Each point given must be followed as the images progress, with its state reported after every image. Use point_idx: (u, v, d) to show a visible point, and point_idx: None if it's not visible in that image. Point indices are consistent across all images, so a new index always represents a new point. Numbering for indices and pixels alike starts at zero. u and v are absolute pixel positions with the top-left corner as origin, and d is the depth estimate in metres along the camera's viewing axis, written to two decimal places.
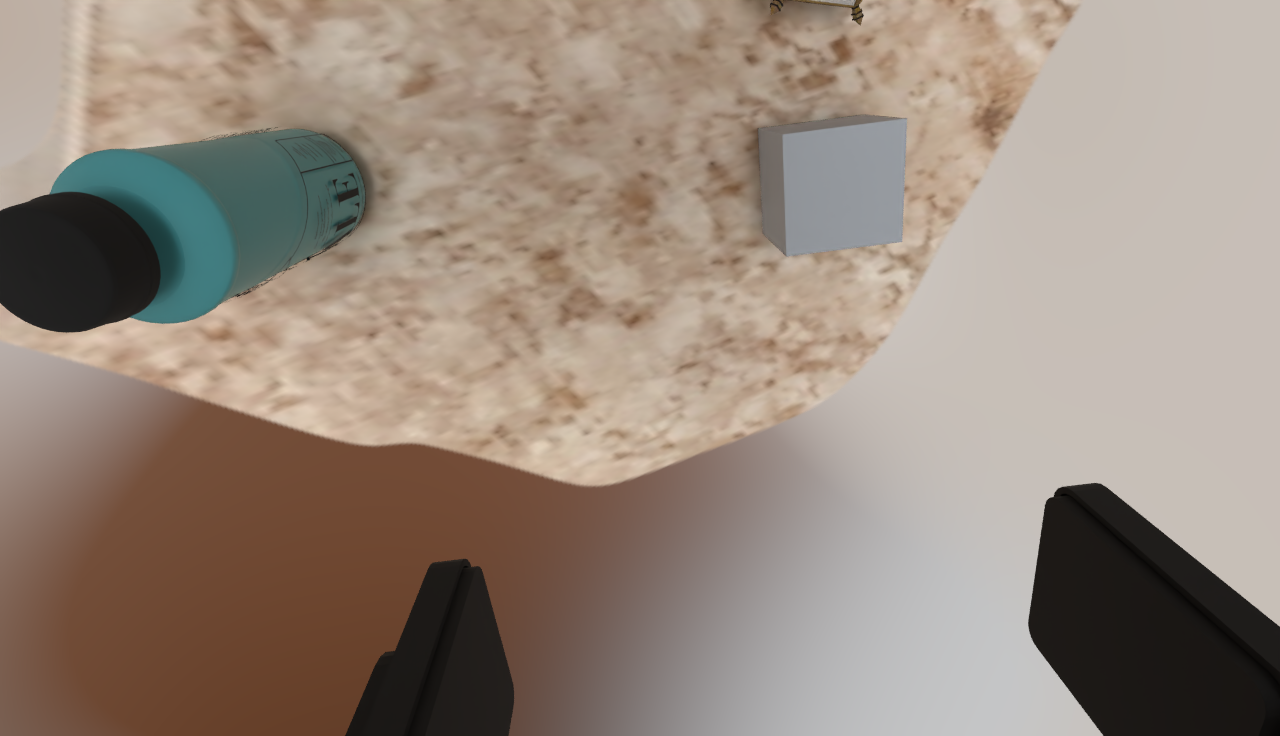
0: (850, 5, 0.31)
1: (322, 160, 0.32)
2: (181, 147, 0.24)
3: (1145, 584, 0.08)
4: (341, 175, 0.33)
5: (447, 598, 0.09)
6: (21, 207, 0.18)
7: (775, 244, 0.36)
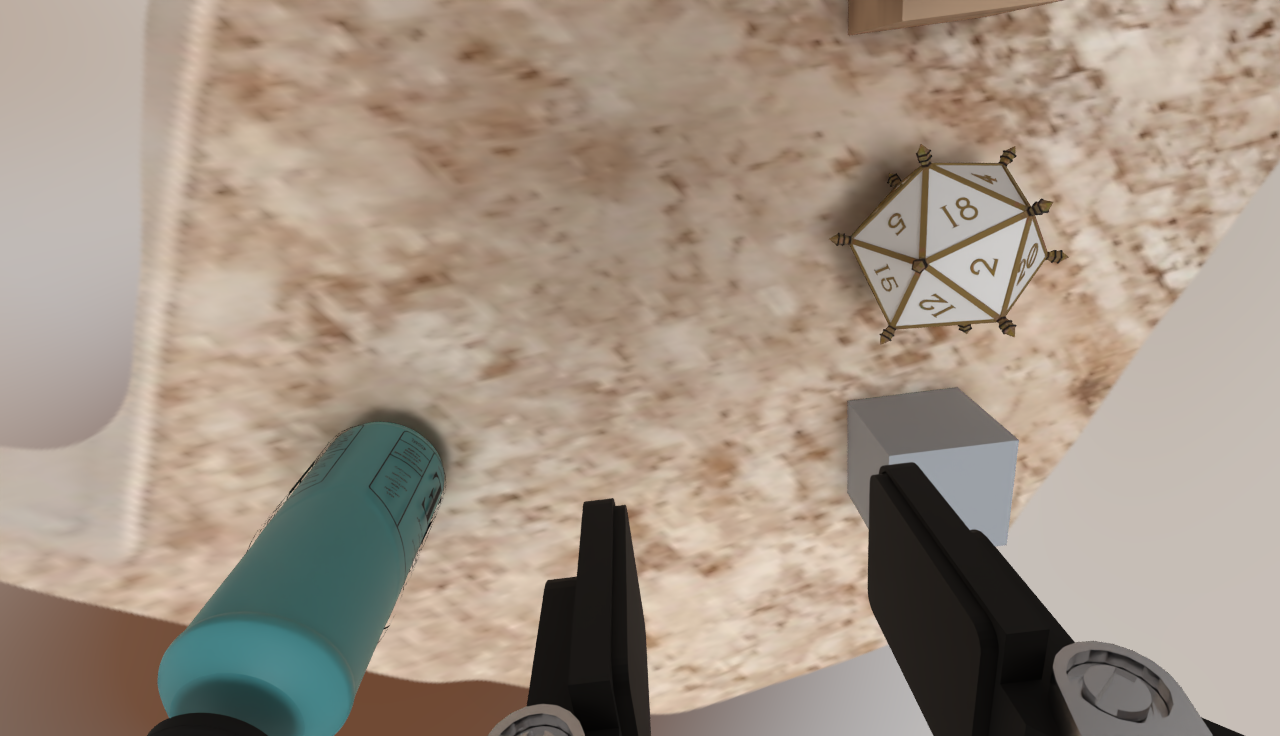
0: None
1: (410, 480, 0.31)
2: (290, 568, 0.23)
3: (921, 547, 0.09)
4: (427, 483, 0.32)
5: (609, 529, 0.10)
6: None
7: (868, 527, 0.35)
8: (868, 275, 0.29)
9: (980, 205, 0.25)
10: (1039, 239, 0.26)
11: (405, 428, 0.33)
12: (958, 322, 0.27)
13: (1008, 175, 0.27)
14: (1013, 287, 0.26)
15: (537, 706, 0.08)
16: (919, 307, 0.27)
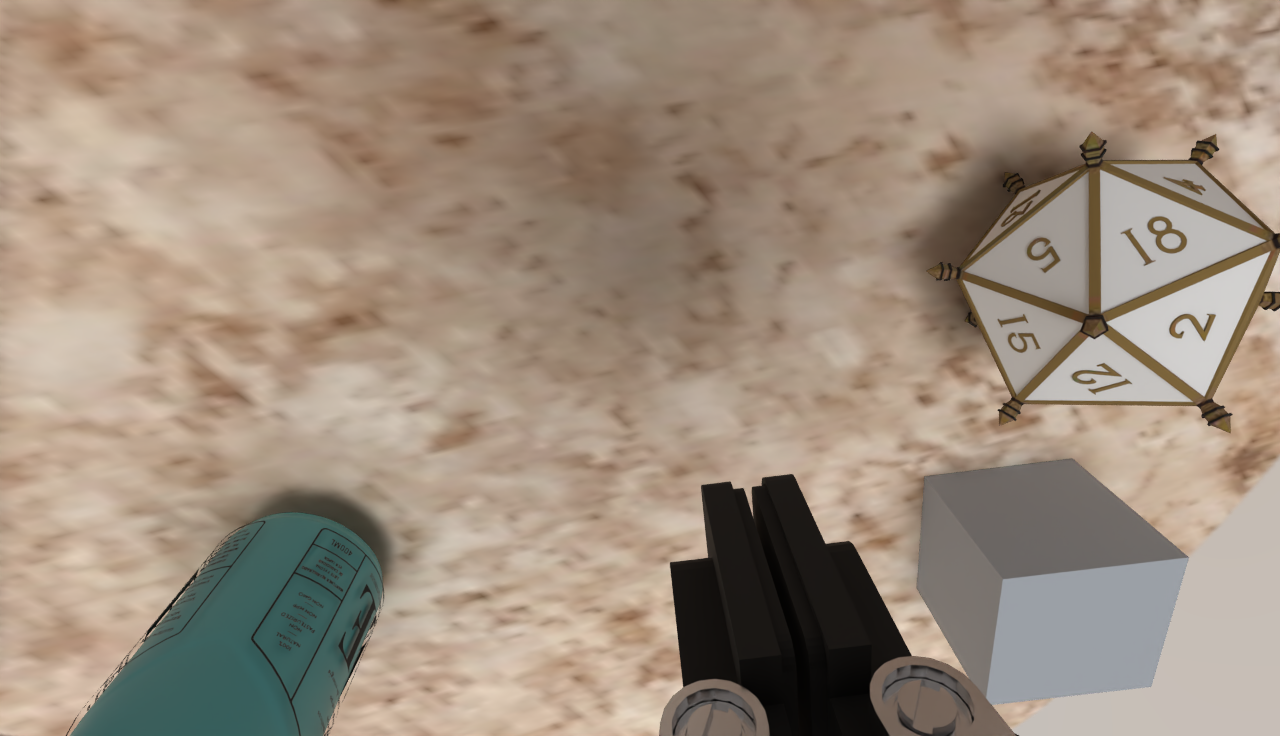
0: None
1: (323, 609, 0.22)
2: None
3: (779, 560, 0.09)
4: (351, 605, 0.23)
5: (735, 511, 0.10)
6: None
7: (952, 647, 0.26)
8: (985, 325, 0.20)
9: (1190, 230, 0.16)
10: (1266, 279, 0.17)
11: (325, 522, 0.24)
12: (1130, 402, 0.18)
13: (1214, 179, 0.18)
14: None
15: (707, 681, 0.08)
16: (1070, 379, 0.18)
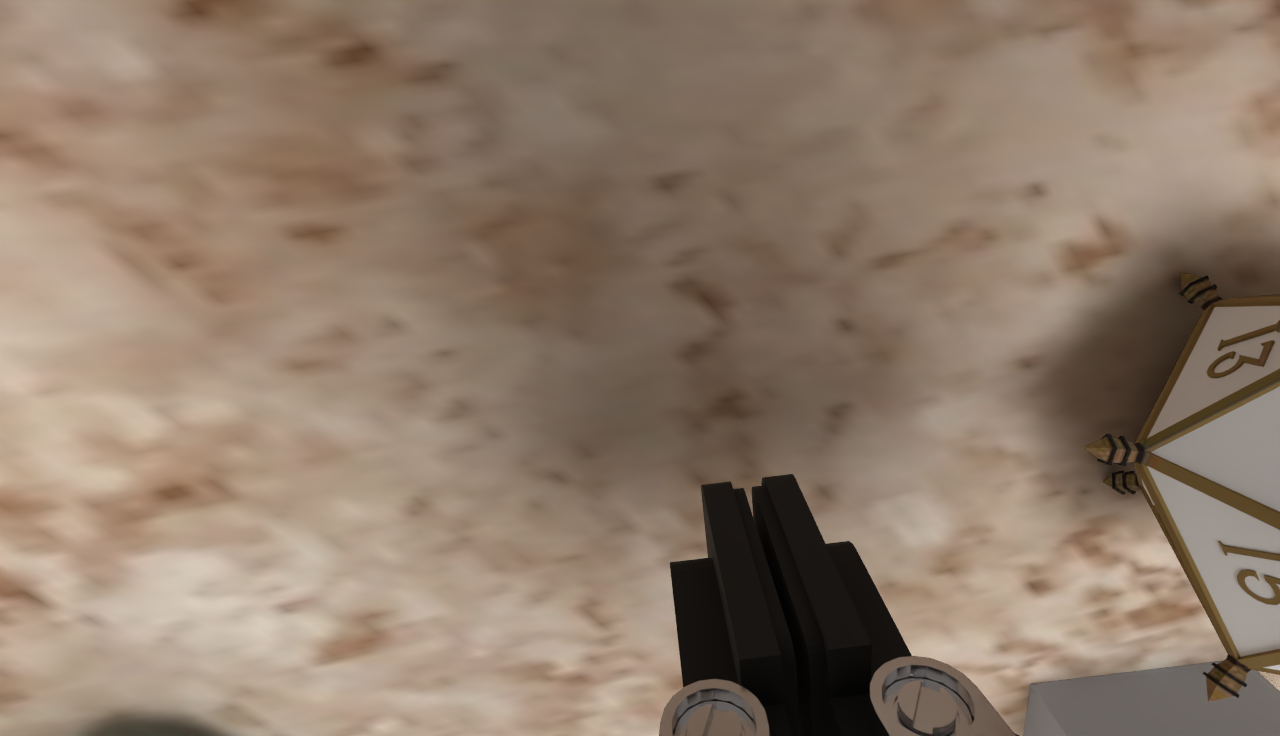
0: None
1: None
2: None
3: (779, 560, 0.09)
4: None
5: (735, 511, 0.10)
6: None
7: None
8: (1187, 541, 0.12)
9: None
10: None
11: None
12: None
13: None
14: None
15: (707, 681, 0.08)
16: None
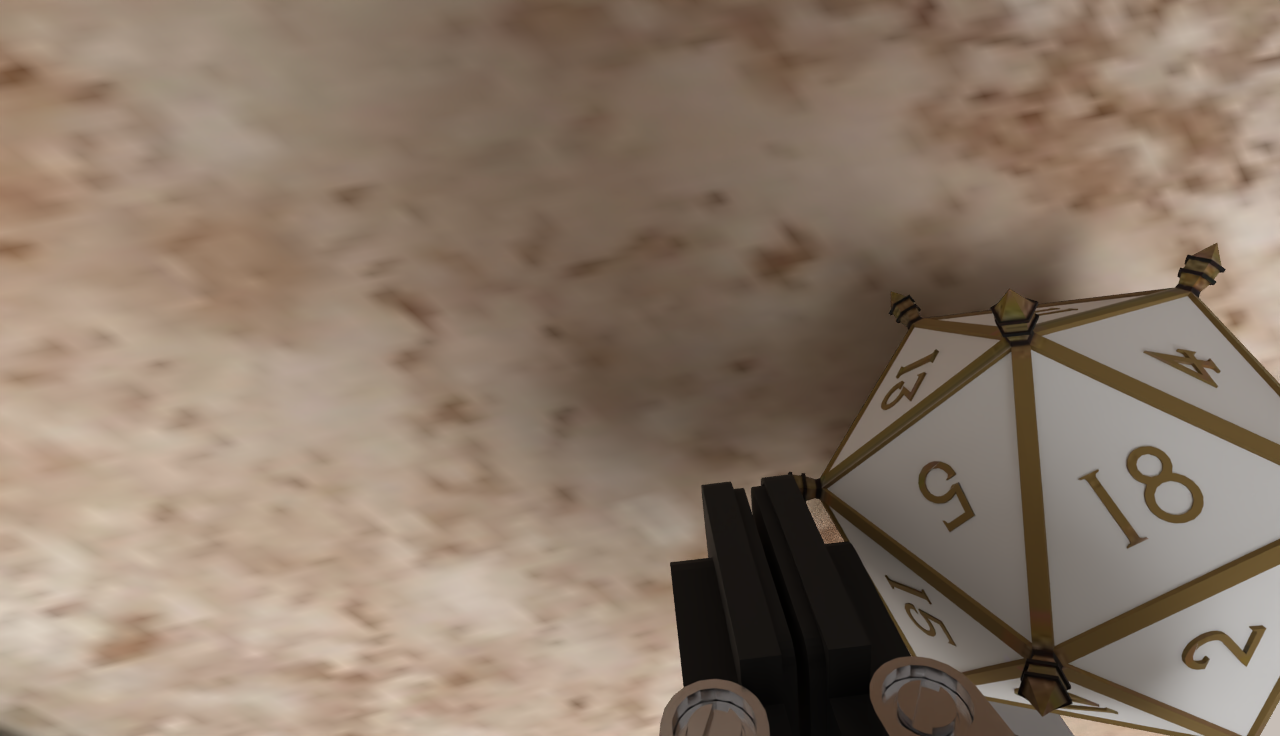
0: None
1: None
2: None
3: (778, 561, 0.09)
4: None
5: (735, 511, 0.10)
6: None
7: None
8: (869, 573, 0.12)
9: (1207, 474, 0.08)
10: None
11: None
12: (1115, 722, 0.10)
13: (1226, 334, 0.10)
14: None
15: (708, 681, 0.08)
16: (1012, 690, 0.10)
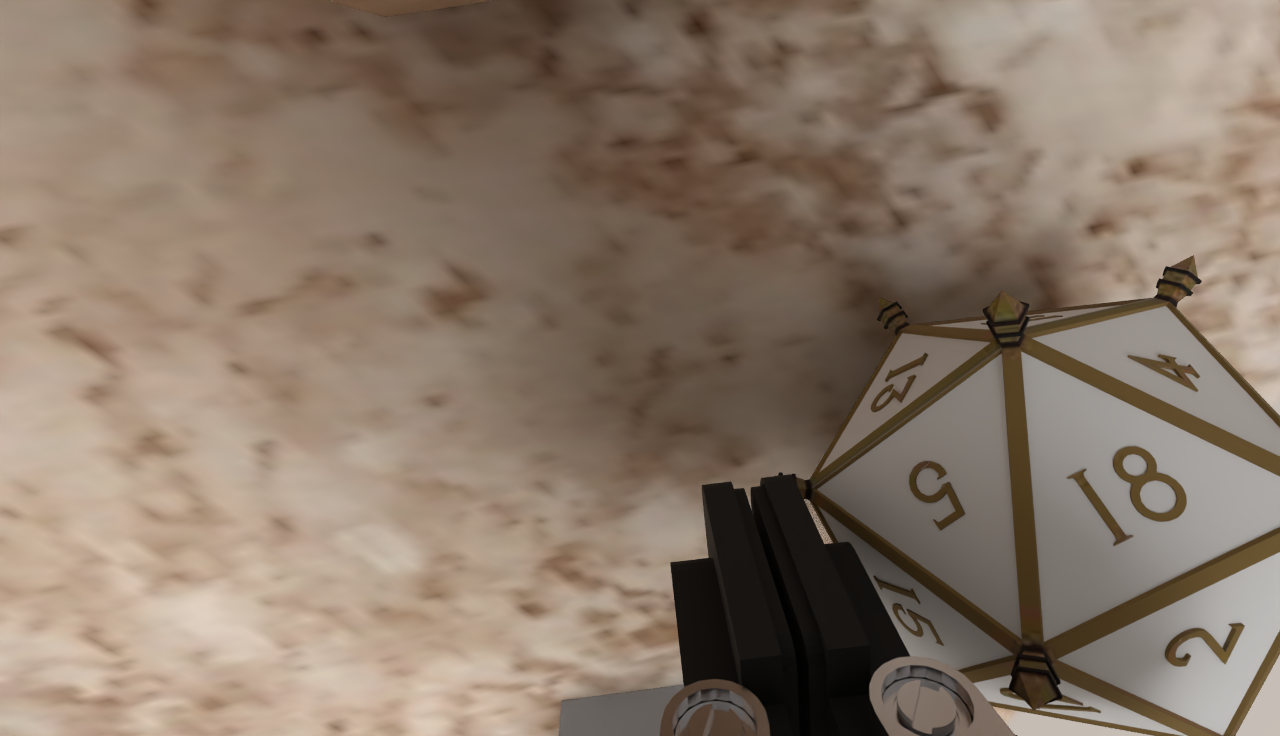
0: None
1: None
2: None
3: (777, 561, 0.09)
4: None
5: (736, 511, 0.10)
6: None
7: None
8: None
9: (1190, 474, 0.09)
10: None
11: None
12: (1096, 722, 0.11)
13: (1204, 343, 0.10)
14: None
15: (708, 681, 0.08)
16: (998, 691, 0.11)
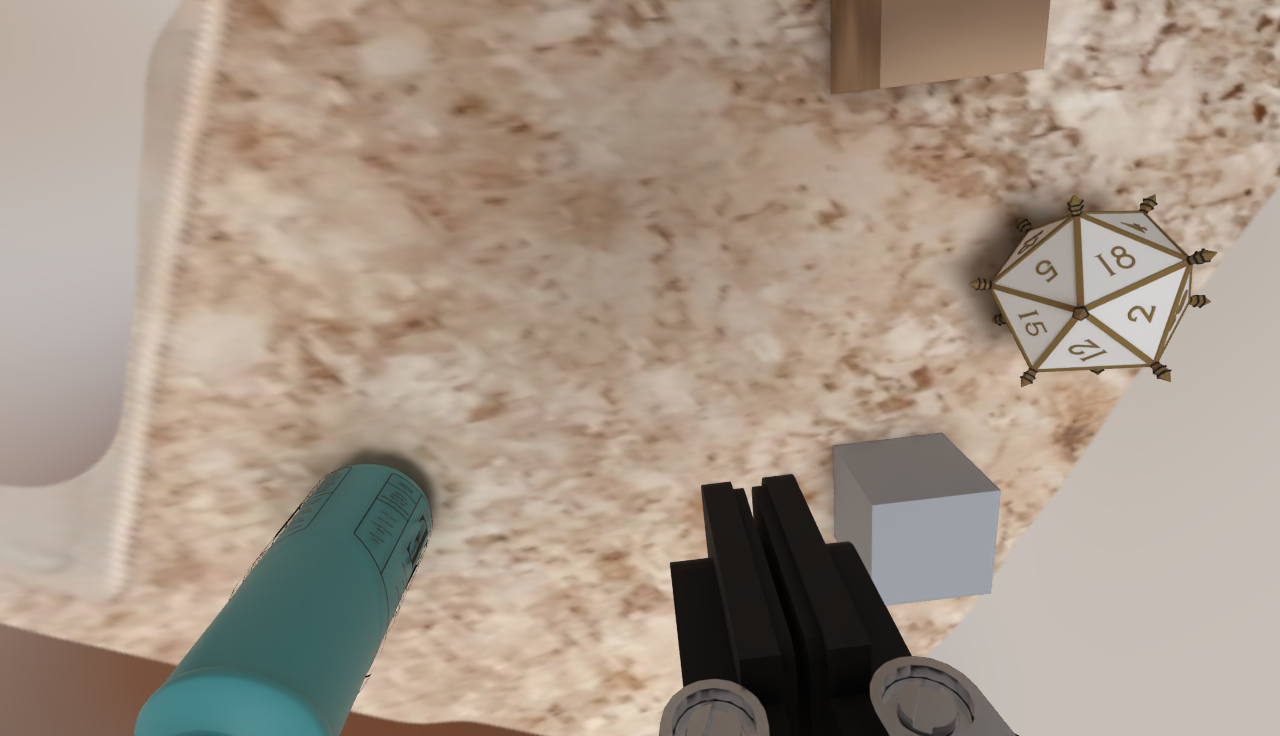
0: None
1: (396, 524, 0.31)
2: (271, 620, 0.23)
3: (779, 560, 0.09)
4: (413, 526, 0.32)
5: (735, 511, 0.10)
6: None
7: None
8: (1009, 319, 0.29)
9: (1137, 254, 0.26)
10: (1189, 286, 0.27)
11: (393, 470, 0.34)
12: (1107, 366, 0.28)
13: (1154, 223, 0.28)
14: None
15: (707, 681, 0.08)
16: (1068, 351, 0.28)
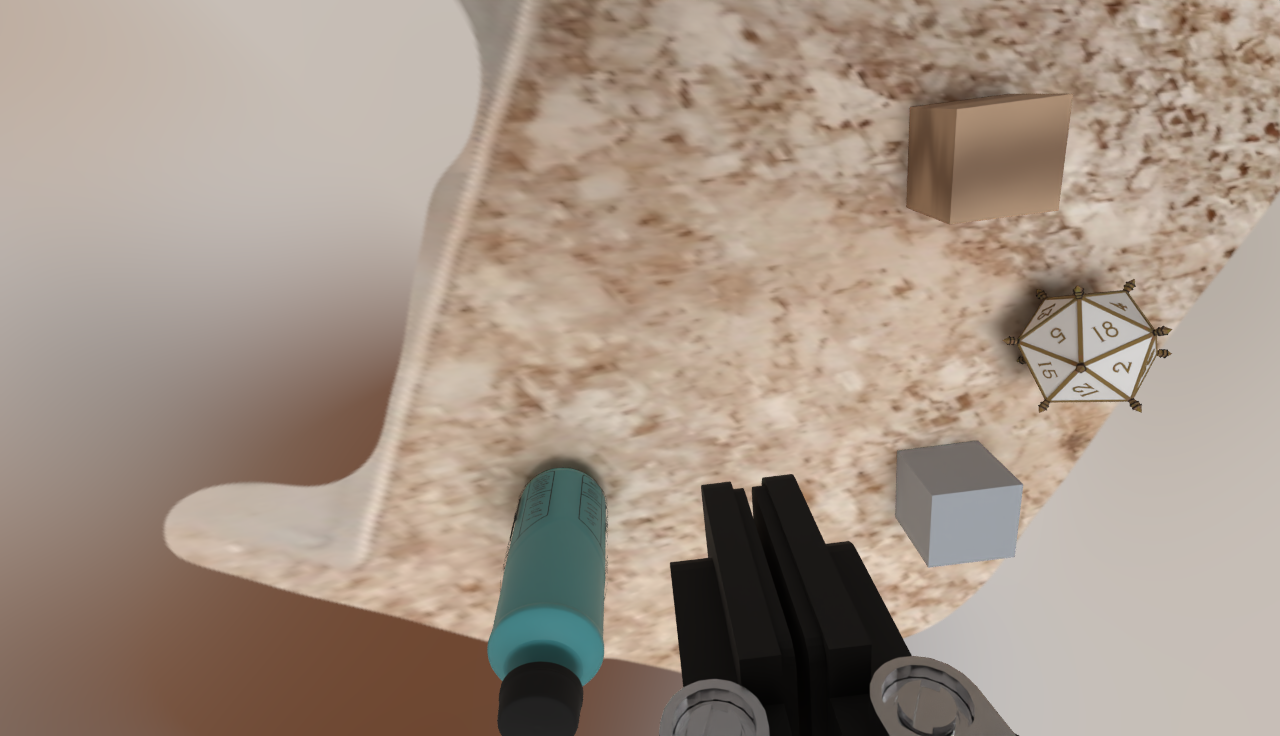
0: None
1: (596, 511, 0.44)
2: (557, 575, 0.36)
3: (779, 560, 0.09)
4: (603, 513, 0.45)
5: (735, 511, 0.10)
6: (535, 696, 0.30)
7: (913, 543, 0.48)
8: (1031, 365, 0.42)
9: (1119, 327, 0.38)
10: (1155, 346, 0.39)
11: (581, 472, 0.46)
12: (1099, 400, 0.40)
13: (1132, 301, 0.40)
14: None
15: (707, 681, 0.08)
16: (1072, 390, 0.40)
